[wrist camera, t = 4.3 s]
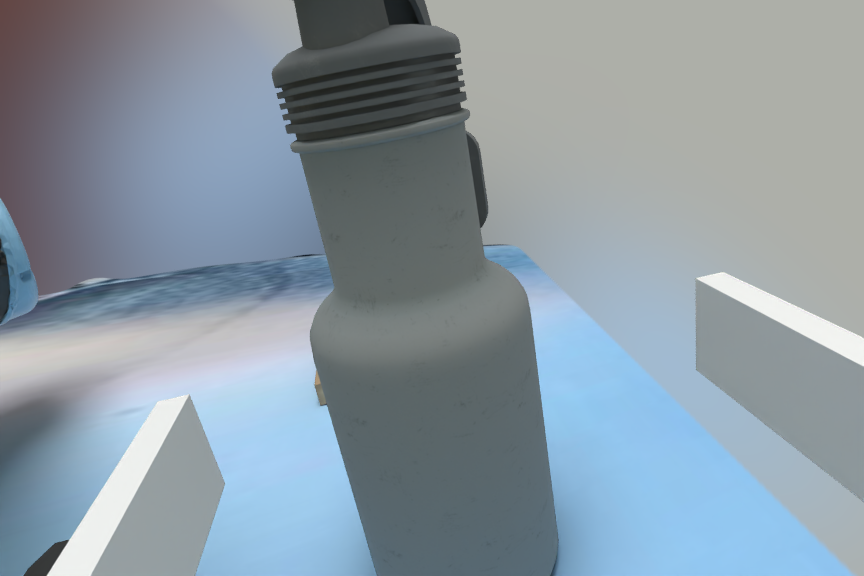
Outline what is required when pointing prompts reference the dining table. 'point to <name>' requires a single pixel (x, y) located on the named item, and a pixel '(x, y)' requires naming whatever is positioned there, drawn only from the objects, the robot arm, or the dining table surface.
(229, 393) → the dining table surface
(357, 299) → the water bottle
